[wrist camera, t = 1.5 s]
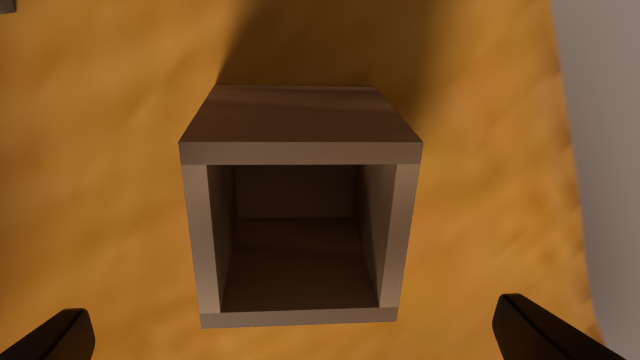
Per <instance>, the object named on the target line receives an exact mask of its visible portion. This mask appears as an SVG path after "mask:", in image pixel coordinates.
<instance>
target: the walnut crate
mask: <svg viewBox="0 0 640 360" xmlns="http://www.w3.org/2000/svg"><path fill="white" fill-rule="evenodd" d="M178 144H179V152H180V160H181V168H182V176H183V184H184V192H185V200H186V208H187V216H188V224H189V232H190V240H191V248H192V256H193V264H194V272H195V280H196V288H197V297H198V305H199V313H200V321H201V329H208V328H235V327H261V326H288V325H314V324H341V323H368V322H394V321H396V320H397V313H398V306H399V300H400V293H401V287H402V280H403V274H404V267H405V260H406V254H407V247H408V241H409V234H410V227H411V221H412V214H413V208H414V201H415V195H416V188H417V181H418V175H419V168H420V162H421V155H422V148H423V141H422V140H421V139H420V138H419V137H418V136H417V134H416V133H415V132H414V131H413V130H412V129H411V127H410V126H409V125H408V124H407V123H406V122H405V121H404V119H403V118H402V117H401V116H400V115H399V114H398V113H397V111H396V110H395V109H394V108H393V107H392V106H391V104H390V103H389V102H388V101H387V100H386V99H385V98H384V96H383V95H382V94H381V93H380V92H379V91H378V90H377V88H376V87H363V86H292V85H222V84H215V85H214V87H213V88H212V90H211V91H210V93H209V95H208V96H207V98H206V99H205V101H204V102H203V104H202V106H201V107H200V109H199V110H198V112H197V113H196V115H195V117H194V118H193V120H192V121H191V123H190V124H189V126H188V127H187V129H186V131H185V132H184V134H183V135H182V137H181V138H180V140H179V142H178Z"/></svg>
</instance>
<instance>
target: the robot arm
mask: <svg viewBox="0 0 640 360" xmlns="http://www.w3.org/2000/svg"><path fill="white" fill-rule="evenodd" d="M492 328H493V332H494V335H495V337H496V340H497V343H498V345H499V348H500V351H501V353H502V356H503V359H504V360H626V359H624V358H622V357H621V356H620V355H618V354H616V353H615V352H613V351H612V350H610V349H608V348H607V347H605V346H604V345H602V344H600V343H599V342H597V341H595V340H594V339H592V338H591V337H589V336H587V335H586V334H584V333H583V332H581V331H579V330H578V329H576V328H575V327H573V326H571V325H570V324H568V323H567V322H565V321H563V320H562V319H560V318H558V317H557V316H555V315H554V314H552V313H550V312H549V311H547V310H546V309H544V308H542V307H541V306H539V305H538V304H536V303H534V302H533V301H531V300H530V299H528V298H526V297H525V296H523V295H521V294H518V293H511V294H502V295H501V296H500V297H499V299H498V303H497V306H496V310H495V313H494V317H493V321H492ZM94 347H95V335H94V331H93V328H92V324H91V320H90V317H89V314H88V311H87V310H86V309H84V308H71V309H64V310H62V311H60V312H59V313H57V314H56V315H55V316H53V317H52V318H50V319H49V320H47V321H46V322H45V323H43V324H42V325H40V326H39V327H38V328H36V329H35V330H33V331H32V332H30V333H29V334H28V335H26V336H25V337H23V338H22V339H21V340H19V341H18V342H16V343H15V344H13V345H12V346H11V347H9V348H8V349H6V350H5V351H4V352H2V353H1V354H0V360H91V357H92V354H93V351H94Z"/></svg>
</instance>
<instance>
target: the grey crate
mask: <svg viewBox="0 0 640 360" xmlns="http://www.w3.org/2000/svg"><path fill="white" fill-rule="evenodd" d="M13 12H16V11H15V7H14V4H13V0H0V14H5V13H13Z"/></svg>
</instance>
